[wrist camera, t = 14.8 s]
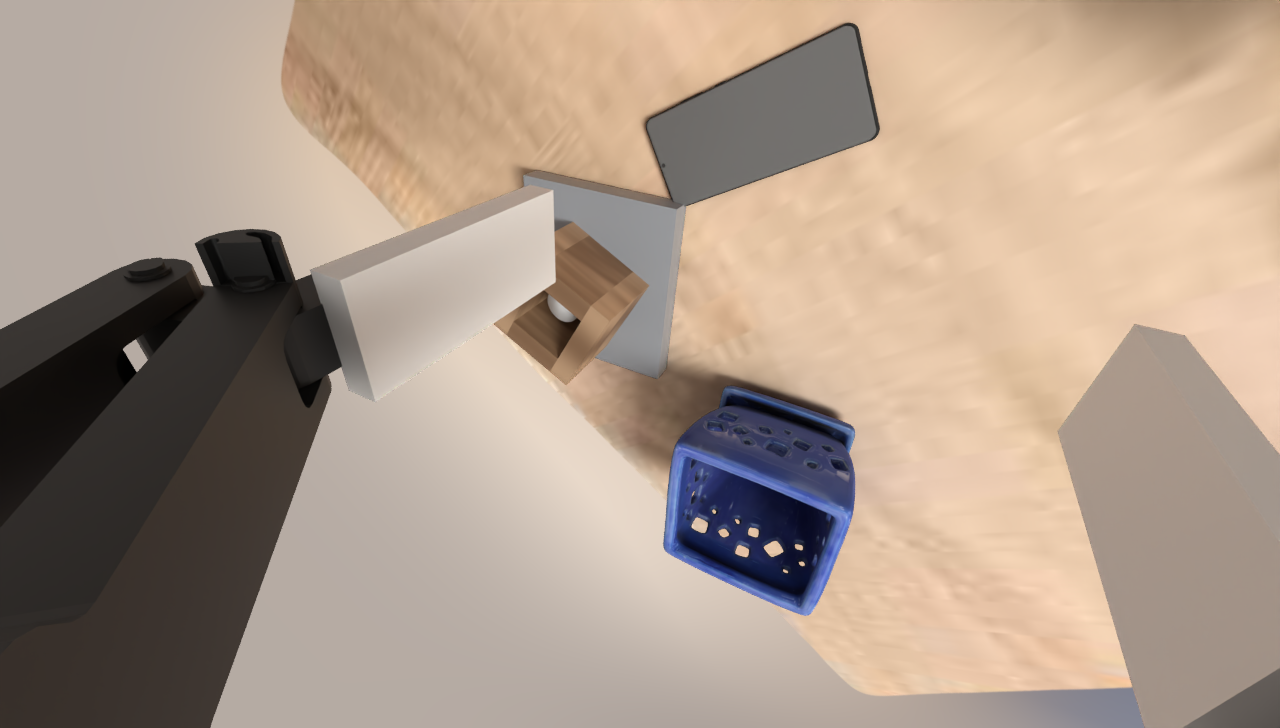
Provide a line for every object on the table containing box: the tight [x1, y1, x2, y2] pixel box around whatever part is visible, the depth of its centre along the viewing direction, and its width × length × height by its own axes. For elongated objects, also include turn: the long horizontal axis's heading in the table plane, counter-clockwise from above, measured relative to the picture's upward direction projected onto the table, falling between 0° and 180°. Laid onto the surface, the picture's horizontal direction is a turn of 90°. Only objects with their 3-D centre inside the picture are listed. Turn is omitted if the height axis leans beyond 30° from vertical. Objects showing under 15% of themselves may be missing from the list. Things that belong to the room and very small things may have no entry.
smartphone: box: [646, 23, 880, 207], centre depth 36 cm, size 7×1×15 cm
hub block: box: [494, 222, 649, 385], centre depth 45 cm, size 12×8×7 cm
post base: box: [523, 170, 686, 379], centre depth 45 cm, size 16×14×7 cm
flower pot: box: [663, 386, 855, 616], centre depth 44 cm, size 13×13×12 cm
